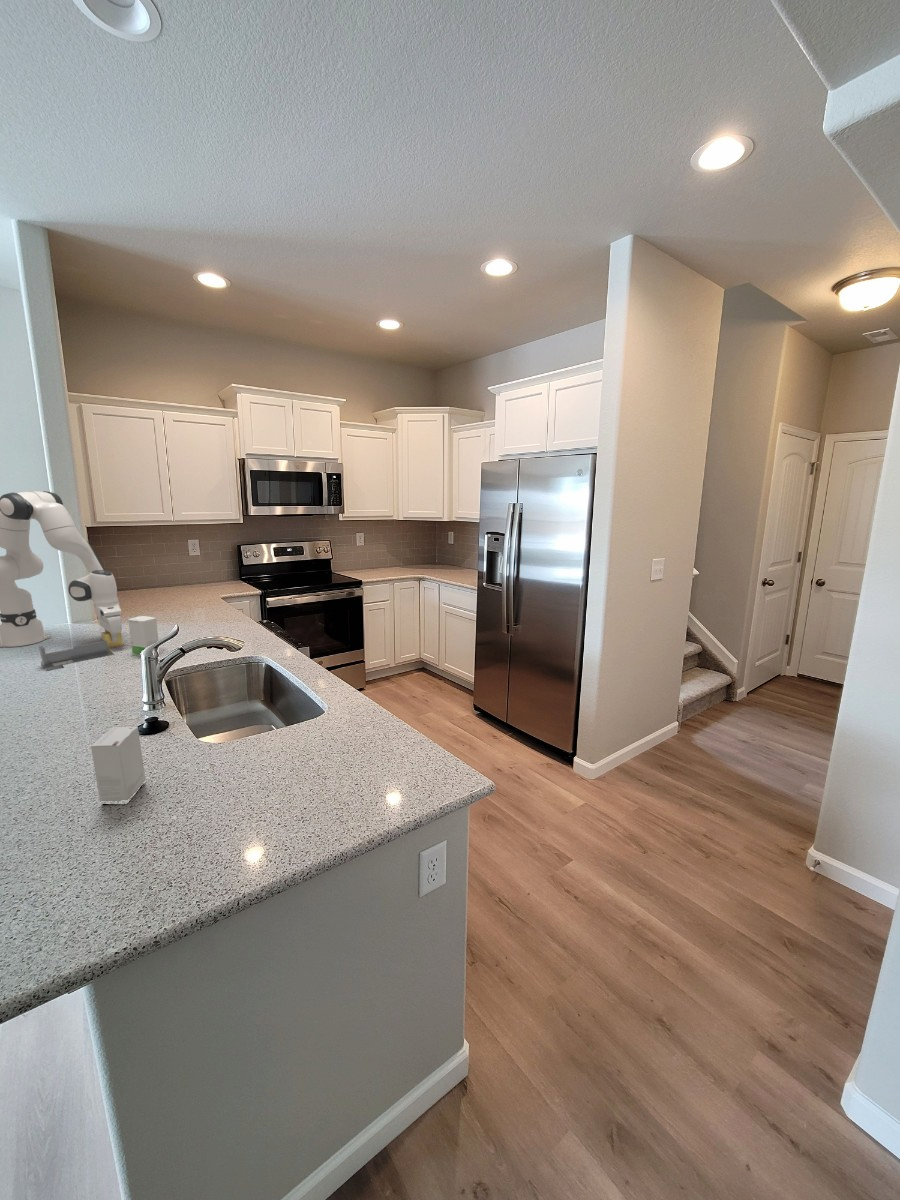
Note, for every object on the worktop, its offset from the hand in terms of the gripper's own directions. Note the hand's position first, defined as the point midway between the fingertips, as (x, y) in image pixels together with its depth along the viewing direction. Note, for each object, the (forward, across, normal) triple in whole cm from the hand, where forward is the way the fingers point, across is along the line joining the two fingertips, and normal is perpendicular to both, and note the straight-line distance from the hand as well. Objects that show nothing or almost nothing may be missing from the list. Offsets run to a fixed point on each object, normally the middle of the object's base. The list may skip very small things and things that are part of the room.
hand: (112, 639), depth 210 cm
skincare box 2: (+4, +20, +7) cm, 22 cm away
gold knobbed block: (+3, 0, 0) cm, 3 cm away
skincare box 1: (+4, +124, -28) cm, 127 cm away
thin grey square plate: (+4, 0, 0) cm, 4 cm away
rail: (+4, +9, -14) cm, 17 cm away
